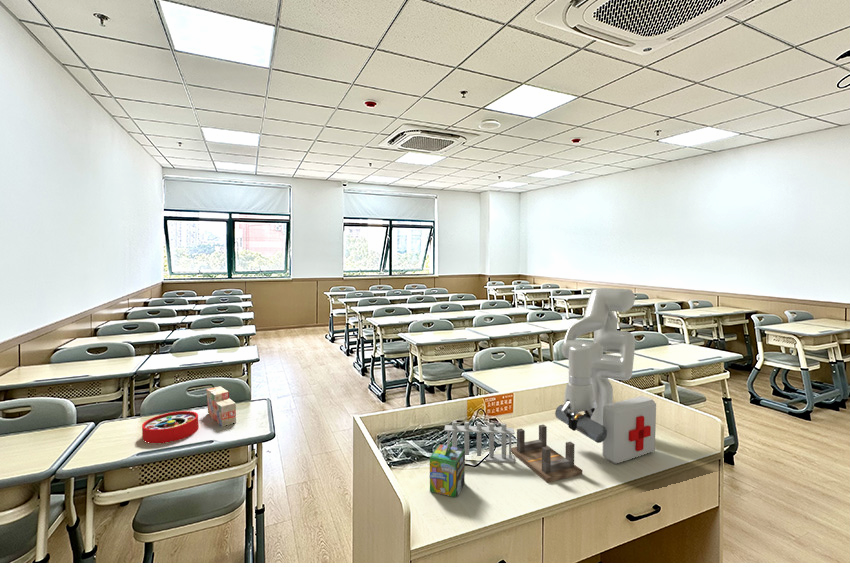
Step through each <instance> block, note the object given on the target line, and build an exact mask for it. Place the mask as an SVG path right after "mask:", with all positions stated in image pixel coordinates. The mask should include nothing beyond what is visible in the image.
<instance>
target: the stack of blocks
mask: <svg viewBox="0 0 850 567" xmlns="http://www.w3.org/2000/svg"><path fill="white" fill-rule="evenodd" d="M206 398H207V399H206V402H207V414H208V413H209V414H210V415H209V414H208V415H209V417H210V418H212V419H213V420H214V419H215V420H214V421H215V422H216V421H217V422H216V423H217V424H218V425H219V426H220V427H221V428H222V427H226V425H227V426H229V425H233V423H234V424H236V423H237V413H236V412H237V411H236V410H237V409H236V408H237V403H236V402H235V401H234V400H232V399H231V398H230V393H229V391H228V390H227V389H225V388H224V387H222V386H215V387H210V388H207V389H206Z"/></svg>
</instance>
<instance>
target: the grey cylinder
mask: <svg viewBox="0 0 850 567" xmlns="http://www.w3.org/2000/svg"><path fill="white" fill-rule="evenodd" d="M563 407H564V404H560V405H558V406H557V407H556V409H555V414H554V415H555V418H556V419H557V420H559V421H561V422H562V423H564V424H566V425H567V426H568V418H567V416H566V415H565V414H564V413H563V412H562V411H561V410H562V408H563ZM568 410H569V409H568ZM568 410H567V412H568ZM571 415H572V413H571ZM574 420H576V430H575V431H577V432H579V433H580V434H582V435H584V436H585V437H587V438H589V439H590V440H592V441H593V442H595V443H598V444H600V443H603V441H604V440H605V438H606V436H607V429H606V428H605V427H604V426H603V425H601V424H599V423H597V422H595V421H593V420H591V419H590V418H588V417H586V416H584V414H582V413H581V412H577V413H576V416H575V419H574Z"/></svg>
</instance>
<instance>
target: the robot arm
mask: <svg viewBox="0 0 850 567" xmlns="http://www.w3.org/2000/svg"><path fill="white" fill-rule="evenodd" d="M635 298H636V296H635V293H634V292H633V290H631V289H629V288H610V287H608V288H607V287H600V288H595V289H593V290H592V291H591V292H590V295H589V298H588V300H587V303H586V308H585V310H584V314H583V317H582V318H581V319H578V320H577V321H576V322H575V323H574V324H572V325H571V326H570V327H569V328H568V329H567V331H566V333H565V335H564V338H563V341H562V342H563V343H562V346H561V353H562V355H563V357H564V358H566V359H568V382H567V383H566V386H565V390H564V398H563V399H564V401H563V402H564V404H563V405H564V407H563V408H562V410H561V411H562V412H563V413H564V414H565V415H566V416H567V418H568V425H567V426H568V429H570V430H572V431H575V432H576V431H577V430H576V420H574V419H575V416H576V413H577V412H579V413H581V412H584V413H583V415H584V416H586V417H588V418H590V419H591V420H593V421H595V422H597V423H599V424H601V425H603V406H605V405H606V404H610V403H614V401H613V400H614V399H613V398H614V397H613V395H614V387H613V384H612V383H611V382H610V380H609V379H613V380H619V381H628V380H630V379H631V378H632V376H633V369H634V359H635V351H636V350H635V348H636V342H635V341H636V339H635V336H634V335H633V333H631V332H630V331H626V330H625V331H622V330H618V324H619V323H618V318H617V316H616V314H615V313H614V312H618V313H619V312H620V313H622V312H623V313H624V312H627V311H629V310H630V309H632V308H633V306H634V305H635V301H636V299H635ZM592 332H594V334H593V340H592V341H586V340H581V339H580V340H578V339H577V338H579V337H580V336H583V335H585V334H589V333H592ZM604 352H605V353H611V354H605V353H604ZM612 353H613V354H619V355H612ZM568 409H569V410H568ZM567 410H568V412H567ZM571 413H572V415H571Z"/></svg>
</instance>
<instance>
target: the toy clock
mask: <svg viewBox="0 0 850 567" xmlns="http://www.w3.org/2000/svg"><path fill="white" fill-rule="evenodd" d="M199 426H200V425H199V414H198V413H197V412H195V411H191V410H178V411H172V412H168V413H163V414H159V415H156V416H154V417H151V418H149V419H147V420H145V421H144V422H143V423H142V425H141V428H142V429H141V430H142V431H141V432H142V441H143V440H144V441H146V442H149V443H148V444H150V443H161V444H166V443H165V442H169V443H171V442H170V441H173V442H177V441H180V439H181V440H183V439H186V438H188V437H190V436H192V435H193V434H195V433H197V432H198V430H199V429H200V428H199ZM144 441H143V442H144ZM146 442H145V443H146Z"/></svg>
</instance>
